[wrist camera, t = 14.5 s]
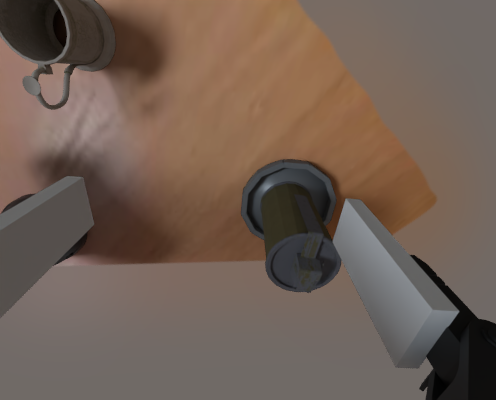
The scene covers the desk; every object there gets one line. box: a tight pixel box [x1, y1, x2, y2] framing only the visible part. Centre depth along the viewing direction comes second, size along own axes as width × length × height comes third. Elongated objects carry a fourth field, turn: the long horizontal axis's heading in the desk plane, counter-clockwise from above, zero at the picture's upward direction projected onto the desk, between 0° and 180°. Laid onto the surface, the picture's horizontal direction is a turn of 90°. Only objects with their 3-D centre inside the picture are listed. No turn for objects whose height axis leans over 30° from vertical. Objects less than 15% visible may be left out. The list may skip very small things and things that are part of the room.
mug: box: [0, 0, 116, 110], centre depth 32 cm, size 14×10×12 cm
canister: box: [260, 181, 341, 293], centre depth 40 cm, size 11×10×20 cm
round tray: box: [241, 159, 337, 240], centre depth 49 cm, size 18×18×2 cm
